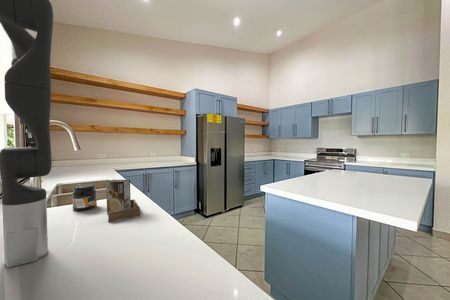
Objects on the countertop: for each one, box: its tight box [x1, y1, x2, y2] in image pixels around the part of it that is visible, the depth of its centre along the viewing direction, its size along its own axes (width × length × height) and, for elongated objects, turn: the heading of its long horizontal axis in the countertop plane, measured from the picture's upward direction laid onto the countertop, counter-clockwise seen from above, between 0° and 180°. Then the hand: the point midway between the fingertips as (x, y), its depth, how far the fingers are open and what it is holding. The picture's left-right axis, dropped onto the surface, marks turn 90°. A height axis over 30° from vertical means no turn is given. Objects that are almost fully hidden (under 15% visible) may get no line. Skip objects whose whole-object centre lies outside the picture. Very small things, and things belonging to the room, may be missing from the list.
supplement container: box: [71, 183, 98, 212], centre depth 102 cm, size 10×10×12 cm
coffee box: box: [105, 179, 132, 215], centre depth 96 cm, size 9×6×16 cm
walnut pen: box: [107, 199, 141, 223], centre depth 94 cm, size 17×13×4 cm
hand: (35, 157), depth 75 cm, fingers closed
